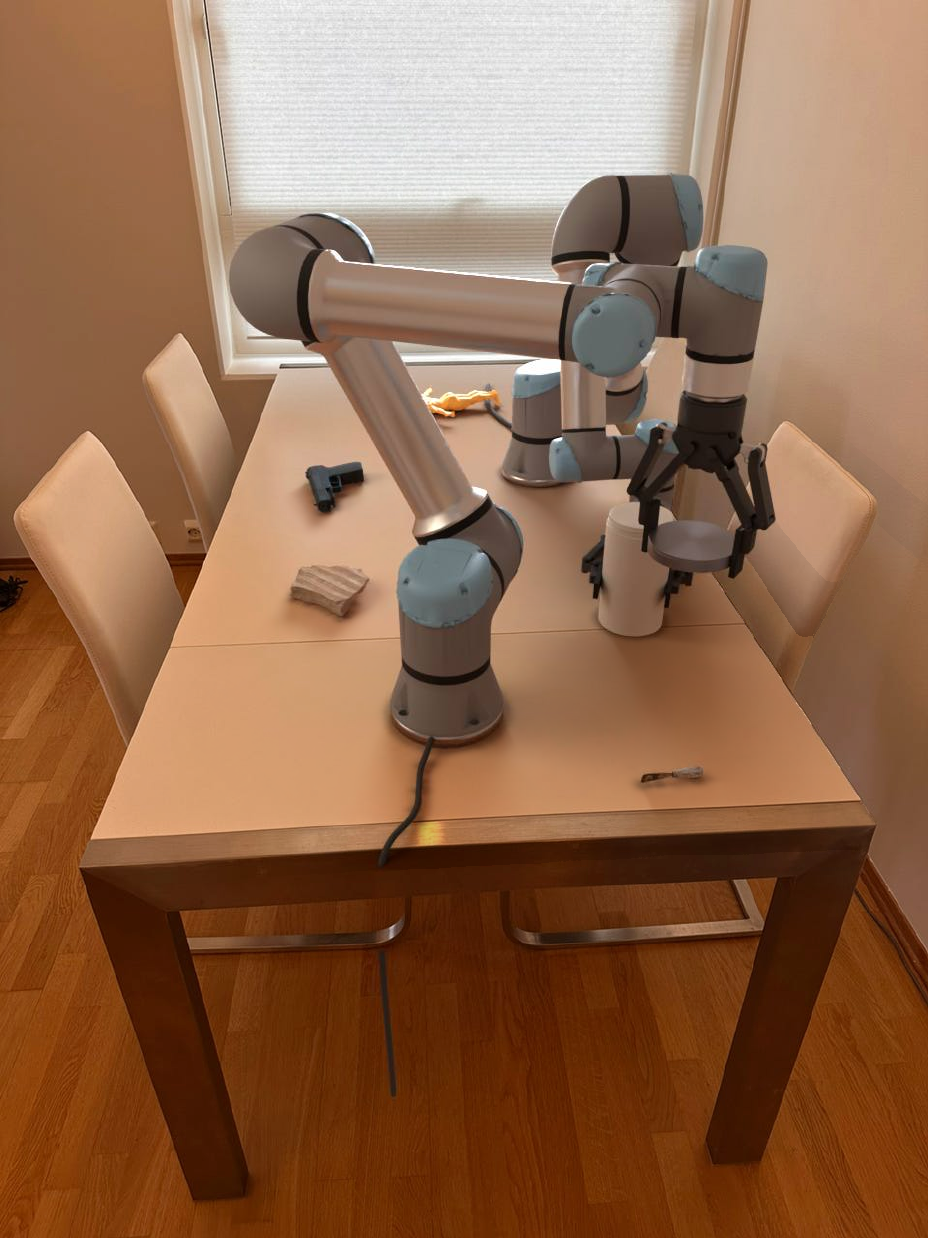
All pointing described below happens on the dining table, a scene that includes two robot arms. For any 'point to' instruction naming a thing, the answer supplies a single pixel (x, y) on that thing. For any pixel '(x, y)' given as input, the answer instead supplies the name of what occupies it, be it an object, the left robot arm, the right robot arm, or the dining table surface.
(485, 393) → the human figure
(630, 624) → the jar
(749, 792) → the dining table surface
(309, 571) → the stone
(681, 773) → the putty knife
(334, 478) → the handgun
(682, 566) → the lid
